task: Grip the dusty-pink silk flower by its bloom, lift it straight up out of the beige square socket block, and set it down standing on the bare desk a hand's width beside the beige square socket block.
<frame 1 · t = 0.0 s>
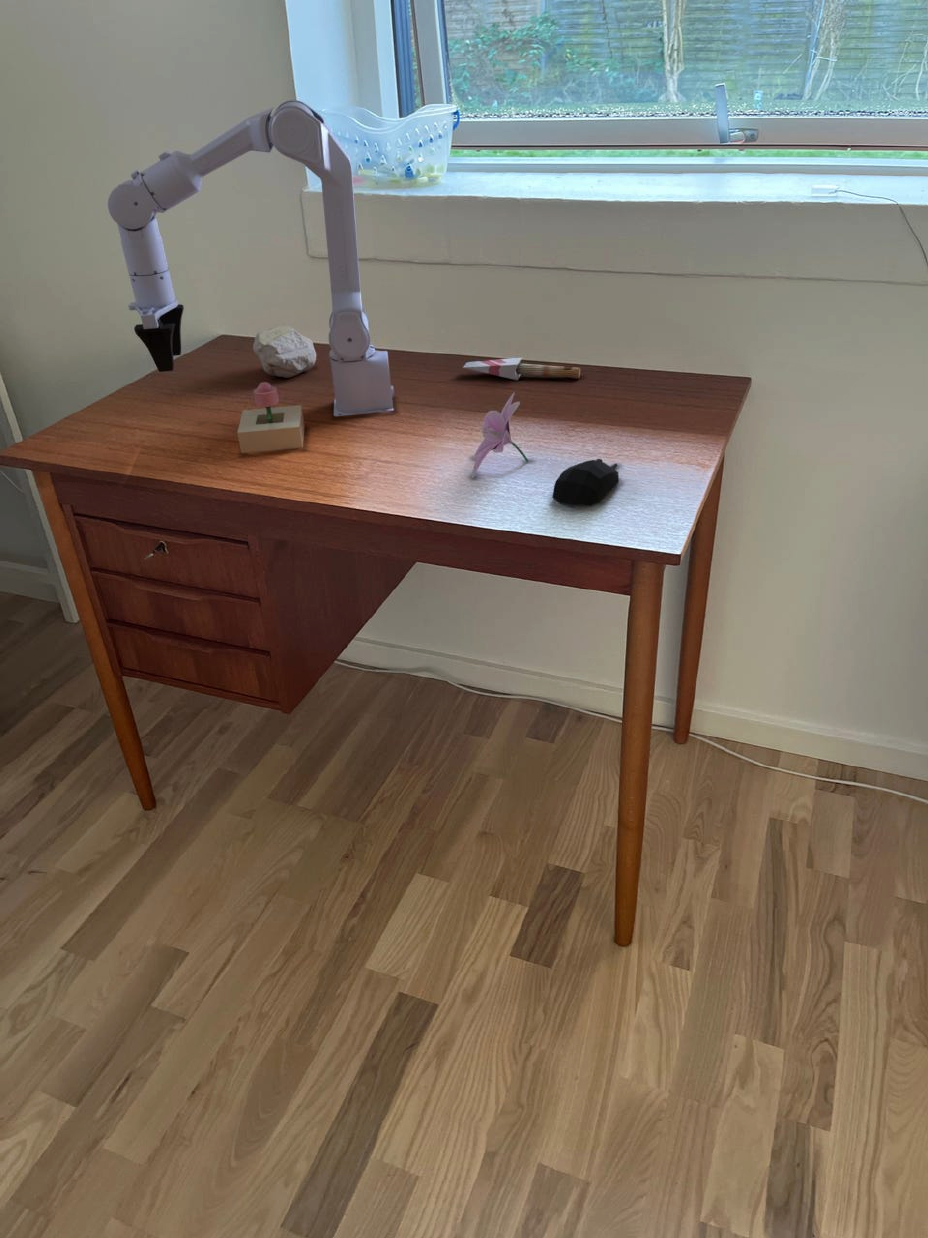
hand: (170, 362, 143), 10 cm above the table, tool pointing down, fingers open, 7 cm apart
gaming mouse: (591, 488, 121), on the table
beige square socket block: (274, 442, 140), on the table
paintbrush: (521, 377, 159), on the table
flower: (273, 438, 140), point 1 cm above the table, touching beige square socket block
white rock: (291, 374, 167), on the table
lily: (498, 465, 129), on the table
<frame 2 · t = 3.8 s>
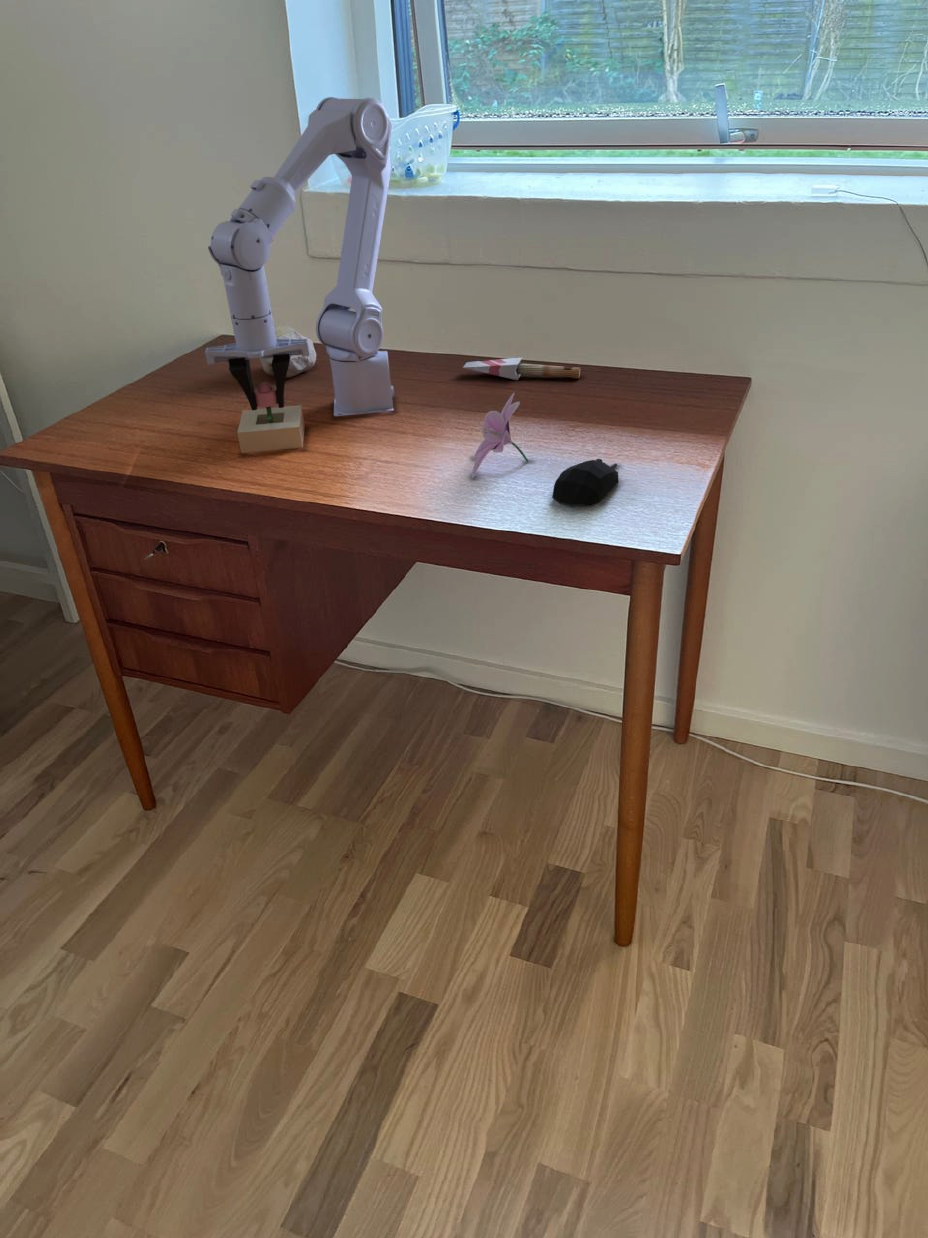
hand: (268, 406, 137), 6 cm above the table, tool pointing down, fingers closed on flower, 3 cm apart
flower: (274, 438, 140), point 1 cm above the table, touching gripper, beige square socket block
everything else where it was.
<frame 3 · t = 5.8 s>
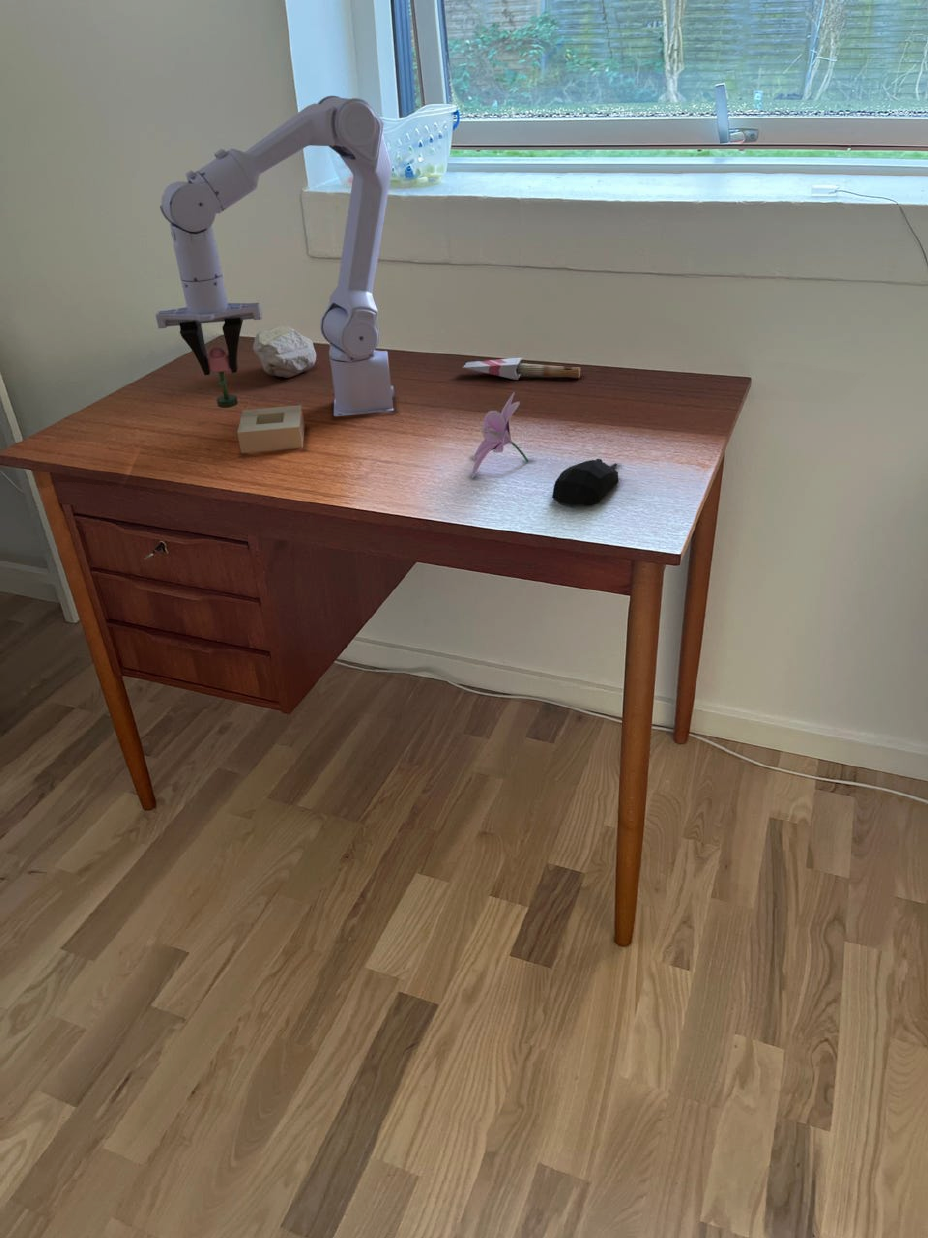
hand: (220, 371, 137), 10 cm above the table, tool pointing down, fingers closed on flower, 3 cm apart
flower: (227, 404, 139), point 5 cm above the table, touching gripper
everything else where it was.
when the fingers open (5 cm above the table, at t = 7.7 s): flower stays where it is, on the table.
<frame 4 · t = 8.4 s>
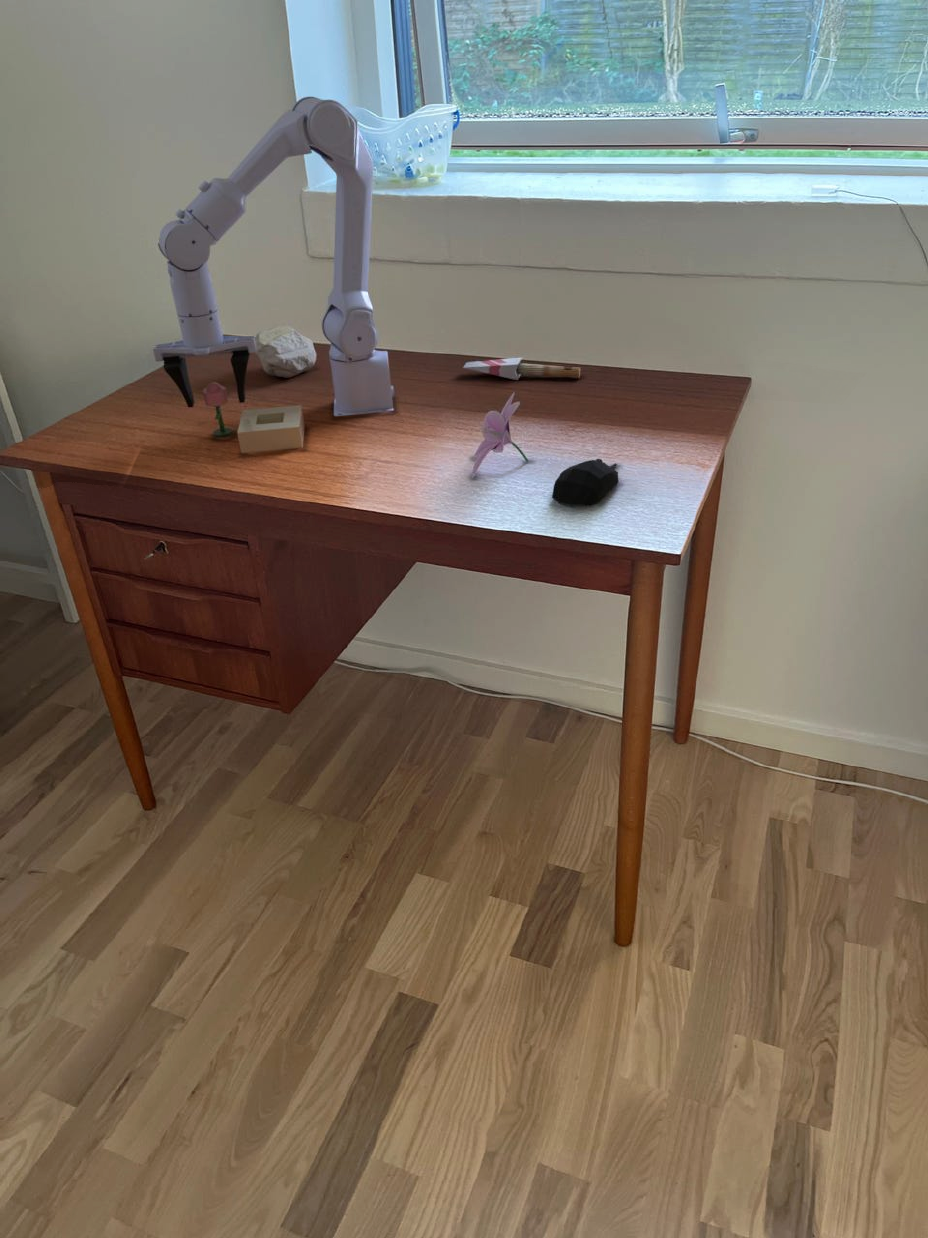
hand: (216, 402, 140), 6 cm above the table, tool pointing down, fingers open, 7 cm apart
flower: (224, 437, 143), on the table
everything else where it was.
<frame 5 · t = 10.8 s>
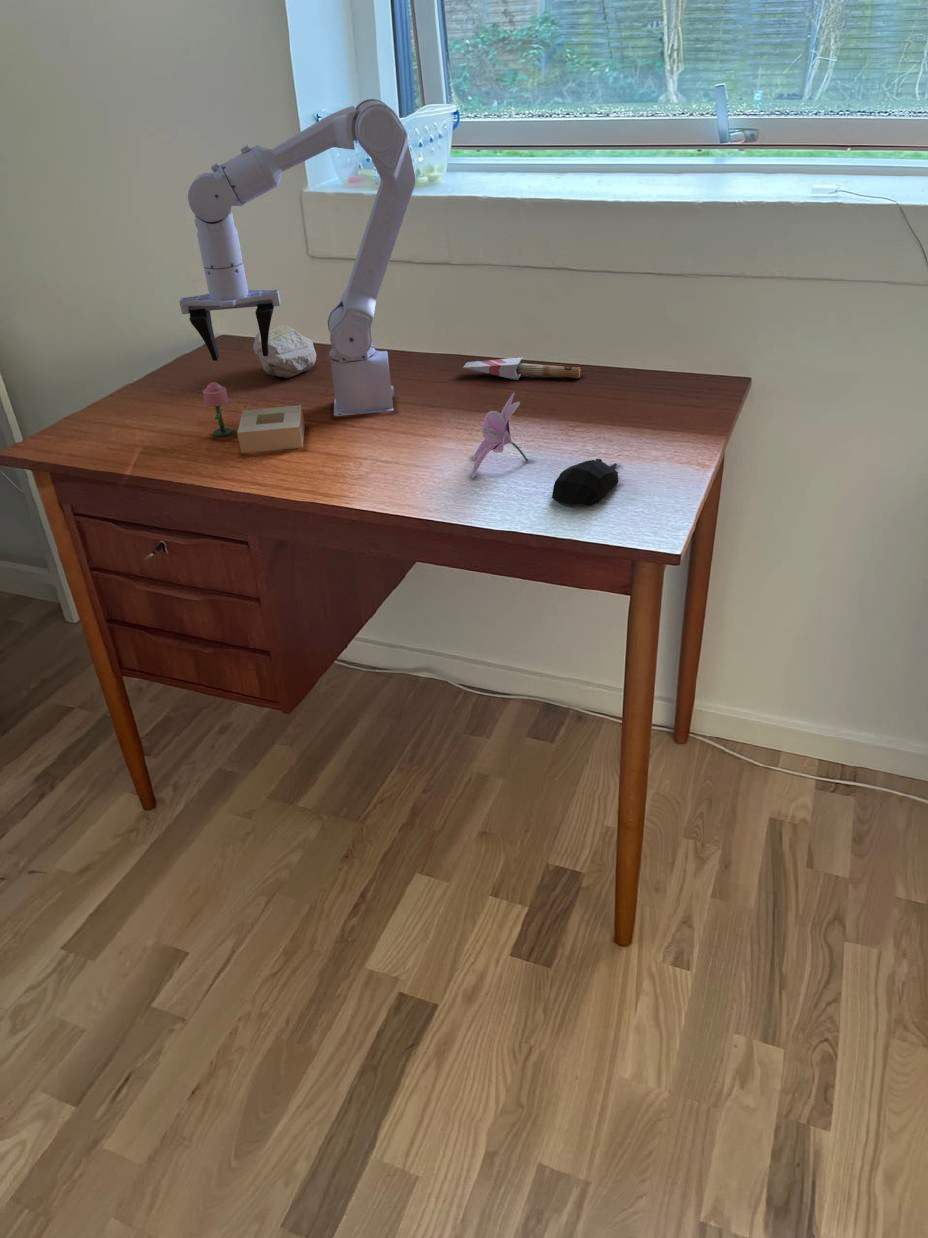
hand: (241, 356, 142), 10 cm above the table, tool pointing down, fingers open, 7 cm apart
nothing on the table moved.
at the end: flower touching table; flower inside the target area (0.0 cm from its centre), on the table; the gripper is holding nothing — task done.
